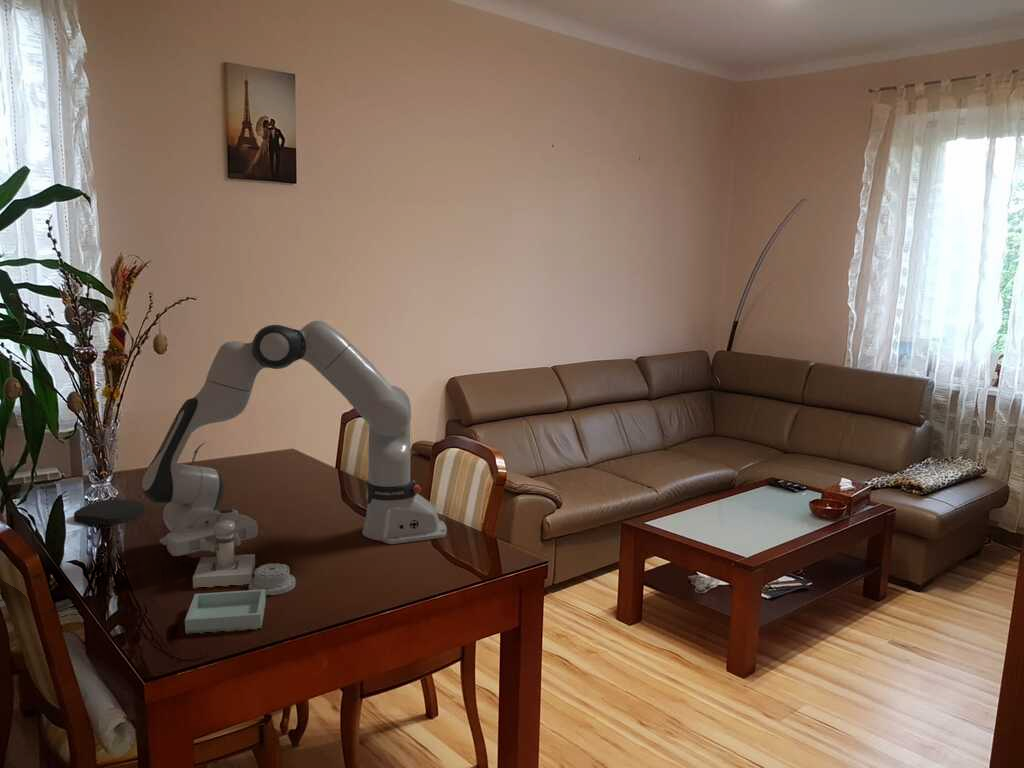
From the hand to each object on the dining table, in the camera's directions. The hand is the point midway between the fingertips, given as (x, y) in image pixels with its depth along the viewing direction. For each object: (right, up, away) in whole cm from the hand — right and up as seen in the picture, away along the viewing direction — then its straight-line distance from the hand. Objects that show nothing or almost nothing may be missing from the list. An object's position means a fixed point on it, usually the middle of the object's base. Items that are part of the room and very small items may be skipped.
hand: (226, 545), depth 176 cm
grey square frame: (-1, -7, +2) cm, 8 cm away
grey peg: (-1, -7, +2) cm, 7 cm away
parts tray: (+7, -11, -19) cm, 23 cm away
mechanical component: (+11, -9, -3) cm, 15 cm away
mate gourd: (-35, +3, +64) cm, 73 cm away
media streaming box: (-47, -1, +40) cm, 62 cm away
